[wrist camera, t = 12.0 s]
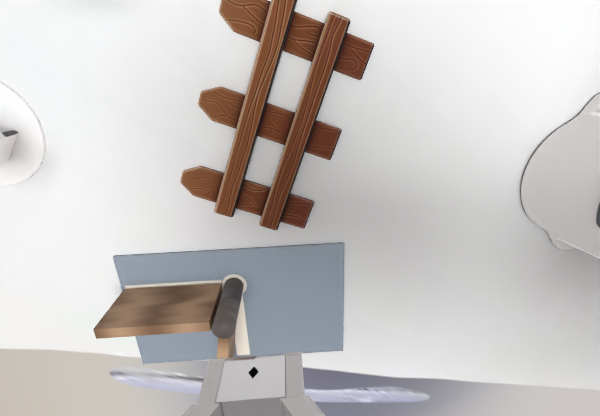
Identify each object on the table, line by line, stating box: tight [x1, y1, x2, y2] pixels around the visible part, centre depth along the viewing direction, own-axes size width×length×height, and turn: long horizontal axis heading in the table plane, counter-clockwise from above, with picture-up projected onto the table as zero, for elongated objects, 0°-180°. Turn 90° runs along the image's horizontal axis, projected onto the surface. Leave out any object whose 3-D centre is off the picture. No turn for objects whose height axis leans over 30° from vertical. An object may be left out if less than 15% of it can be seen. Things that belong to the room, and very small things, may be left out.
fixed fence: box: [93, 277, 244, 339], centre depth 37 cm, size 15×2×8 cm, turn 92°
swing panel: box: [217, 328, 236, 359], centre depth 40 cm, size 12×1×7 cm, turn 173°
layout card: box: [113, 243, 344, 364], centre depth 43 cm, size 28×17×1 cm, turn 92°
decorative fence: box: [181, 0, 374, 230], centre depth 34 cm, size 23×2×15 cm
